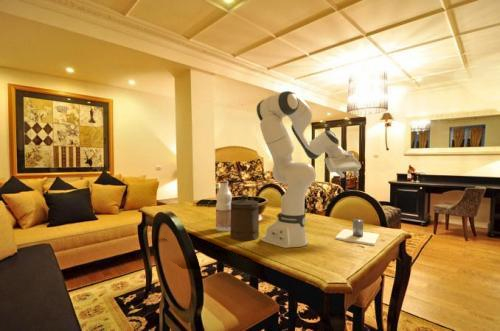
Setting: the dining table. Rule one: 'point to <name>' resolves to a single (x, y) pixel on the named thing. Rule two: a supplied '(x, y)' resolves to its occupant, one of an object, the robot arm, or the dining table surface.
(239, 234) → the wooden container
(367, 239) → the cream board
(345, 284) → the dining table surface
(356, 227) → the steel tin
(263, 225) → the dining table surface
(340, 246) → the dining table surface
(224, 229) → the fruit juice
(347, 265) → the dining table surface
